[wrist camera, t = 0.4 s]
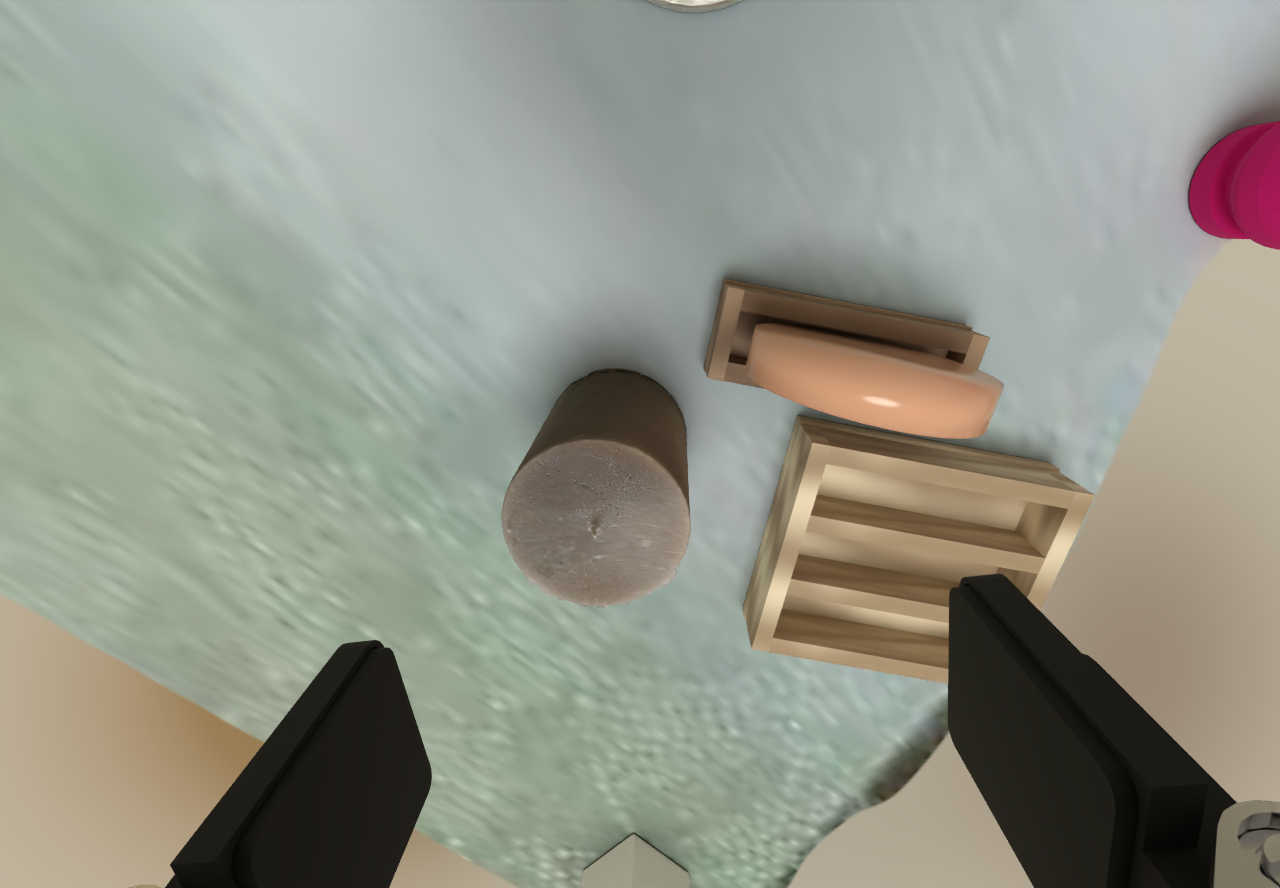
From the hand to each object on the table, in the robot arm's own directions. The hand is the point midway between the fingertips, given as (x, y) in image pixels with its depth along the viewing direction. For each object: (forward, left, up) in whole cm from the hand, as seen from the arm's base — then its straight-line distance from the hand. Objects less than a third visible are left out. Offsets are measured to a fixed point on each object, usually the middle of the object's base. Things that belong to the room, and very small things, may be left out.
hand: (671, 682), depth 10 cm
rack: (+12, +19, -33) cm, 40 cm away
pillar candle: (+8, -2, -33) cm, 34 cm away
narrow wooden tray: (-1, +11, -33) cm, 35 cm away
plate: (-1, +11, -32) cm, 34 cm away
